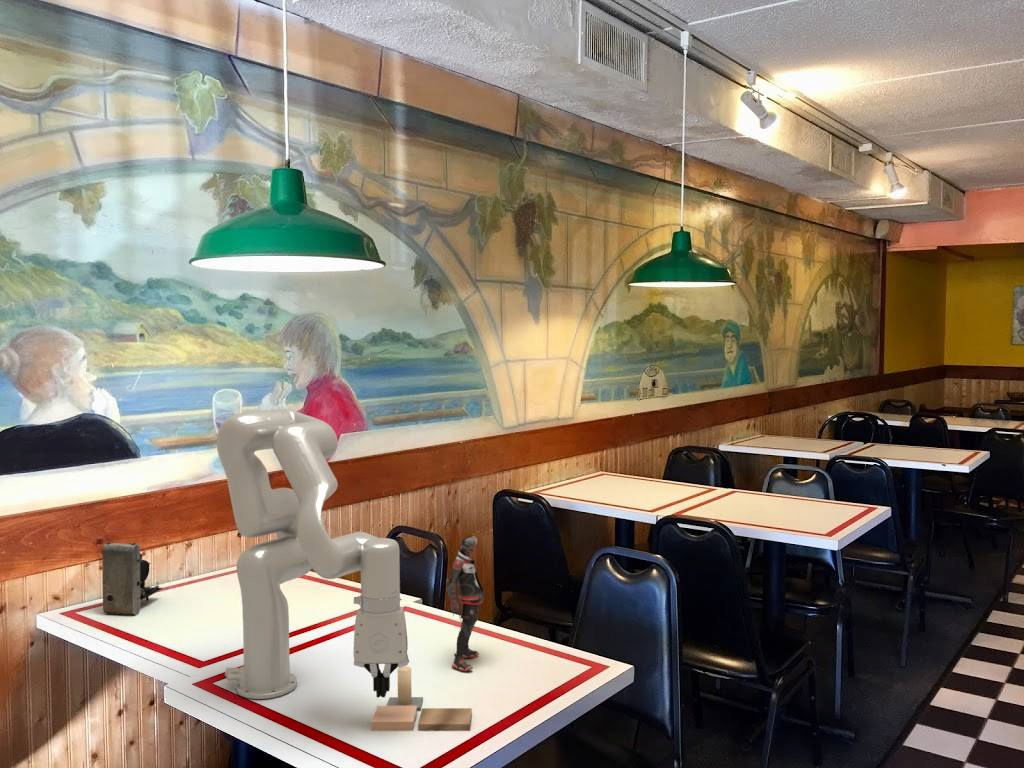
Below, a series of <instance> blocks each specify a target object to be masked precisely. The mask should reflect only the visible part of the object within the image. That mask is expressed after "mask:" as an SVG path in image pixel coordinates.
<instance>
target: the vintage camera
mask: <svg viewBox="0 0 1024 768" xmlns="http://www.w3.org/2000/svg"><path fill="white" fill-rule="evenodd" d="M101 550H102V551H101V555H102V612H103V613H104V614H105V613H108V614H107V615H119V614H125V615H127V616H137V615H138V614H139V613H140V611H141V602H142V600H144V599H145V601H149V597H151V596H153V595H154V594H156V593H157V592H159V591H160V590H162V589H163V587H160V585H158V584H157V585H155V586H153V587H151V586H145V585H146V580H147V579H148V577H149V574H150V565H151V562H148V561H147V560H145V559H143V554H142V553H141V547H140V545H139V544H138V543H136V542H132V543H131V542H130V543H128V544H127V543H120V542H119V543H118V542H115V543H113V542H111V541H110V542H109V541H108V542H107V543H106V544H104V545H103V548H102V549H101ZM136 614H137V615H136Z"/></svg>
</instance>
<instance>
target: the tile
mask: <svg viewBox="0 0 1024 768" xmlns="http://www.w3.org/2000/svg"><path fill="white" fill-rule="evenodd" d="M417 717H418V711H417V706H387V705H376V709H375V711H374V714H373V717H372V719H371V731H372V732H378V731H379V732H381V731H382V732H385V731H386V732H388V731H389V732H390V731H391V732H393V731H395V732H397V731H398V732H401V731H402V732H403V731H404V732H406V731H407V732H409V731H410V732H411V731H412V732H414V729H415V726H416V720H417Z"/></svg>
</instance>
